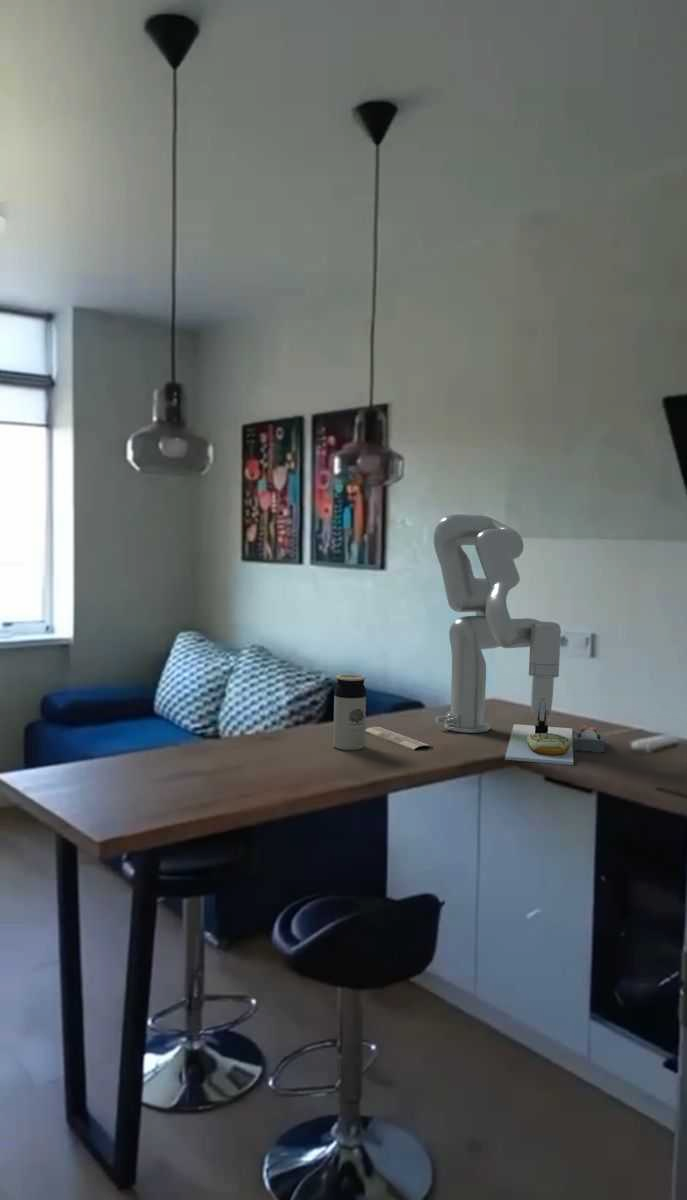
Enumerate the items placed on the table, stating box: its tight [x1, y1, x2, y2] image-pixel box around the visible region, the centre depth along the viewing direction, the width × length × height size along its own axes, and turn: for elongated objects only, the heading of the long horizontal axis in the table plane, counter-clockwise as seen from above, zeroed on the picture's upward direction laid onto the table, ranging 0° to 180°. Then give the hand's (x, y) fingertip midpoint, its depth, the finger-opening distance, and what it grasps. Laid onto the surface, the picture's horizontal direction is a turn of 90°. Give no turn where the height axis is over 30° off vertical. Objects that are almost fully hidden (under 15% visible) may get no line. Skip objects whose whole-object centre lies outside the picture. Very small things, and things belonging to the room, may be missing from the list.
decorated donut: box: [527, 733, 570, 755], centre depth 224 cm, size 10×11×4 cm
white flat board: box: [504, 723, 574, 766], centre depth 234 cm, size 39×16×1 cm, turn 166°
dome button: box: [580, 729, 598, 740], centre depth 231 cm, size 5×5×4 cm
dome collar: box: [572, 732, 606, 753], centre depth 231 cm, size 8×8×3 cm
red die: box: [579, 725, 597, 734], centre depth 238 cm, size 4×4×4 cm
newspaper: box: [365, 726, 434, 751], centre depth 236 cm, size 24×7×2 cm, turn 30°
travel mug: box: [332, 673, 367, 751], centre depth 225 cm, size 8×8×18 cm
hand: (541, 740), depth 231 cm, fingers closed
